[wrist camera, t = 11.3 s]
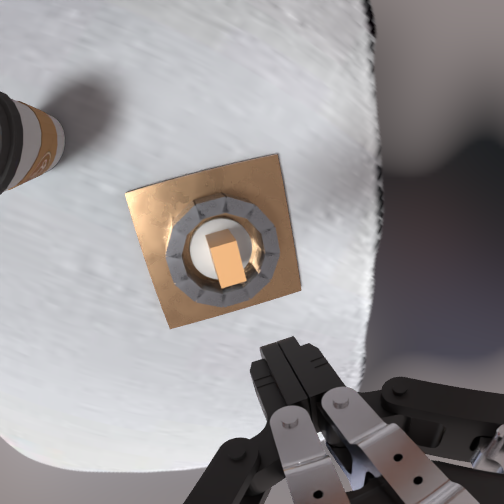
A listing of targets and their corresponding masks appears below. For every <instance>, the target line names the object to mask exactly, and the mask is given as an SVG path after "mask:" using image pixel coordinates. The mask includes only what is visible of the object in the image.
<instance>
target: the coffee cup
mask: <svg viewBox="0 0 504 504" xmlns="http://www.w3.org/2000/svg"><path fill="white" fill-rule="evenodd" d="M64 146H65V135H64V131H63V128H62V126H61V124H60V122H59V121H58V120H56V119H55V118H54V117H52V116H50V115H48V114H46V113H45V112H43V111H41V110H39V109H36V108H34V107H32V106H30V105H27V104H25V103H23V102H20V101H15V100H13V99H10V98H9V97H8V95H7V94H5V93H2V92H0V195H1V194H2V193H3V192H4V191H6V190H10V189H13V188H15V187H17V186H19V185H21V184H23V183H25V182H27V181H29V180H31V179H34V178H36V177H38V176H40V175H42V174H43V173H45V172H47V171H49V170H51V169H52V168H53V167H54V166H55V165H56V164H57V163H58V161H59V160H60V158H61V156H62V154H63V151H64Z"/></svg>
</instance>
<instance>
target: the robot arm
mask: <svg viewBox="0 0 504 504" xmlns="http://www.w3.org/2000/svg"><path fill="white" fill-rule="evenodd" d="M260 352H261V356H262V359H261V360H258V361H255V362H252V364H251V369H250V374H251V377H252V381H253V384H254V387H255V391H256V394H257V397H258V400H259V402H260V405H261V407H262V410H263V412H264V415H265V417H266V420H267V424H266V426H265V428H264V429H263V430H262V431H261V432H260V433H259V434H258V435H256V436H255V437H253V438H251V439H247V438H234V439H231V440H228V441H226V442H225V443H224V444H223V445H221V447H220V448H219V450H218V451H217V453H216V454H215V456H214V458H213V459H212V461H211V462H210V464H209V465H208V467H207V468H206V470H205V472H204V473H203V475H202V476H201V478H200V479H199V481H198V482H197V484H196V486H195V487H194V488H193V490H192V491H191V493H190V494H189V496H188V497H187V499H186V500H185V502H184V503H183V504H264V502H265V500H266V498H267V496H268V494H269V492H270V490H271V487H272V486H273V485H275V484H276V483H278V482H280V481H281V480H282V479H284V478H285V477H286V480H287V483H288V487H289V489H290V493H291V496H292V499H293V502H294V504H504V394H498V393H491V392H485V391H478V390H471V389H465V388H459V387H453V386H448V385H442V384H437V383H431V382H426V381H421V380H416V379H411V378H406V377H395V378H392V379H390V380H388V381H387V382H385V384H384V385H383V386H382V390H378V391H372V392H365V393H360V392H356V391H355V390H354V389H352V388H349V387H346V386H345V385H344V383H343V382H342V381H341V379H340V378H339V376H338V375H337V374H336V372H335V371H334V369H333V368H332V367H331V365H330V364H329V363H328V361H327V360H326V358H324V356H323V354H322V353H321V351H320V350H319V349H318V348H317V347H315V346H313V345H311V344H309V343H308V344H305V345H302V346H300V345H299V343H298V342H297V340H296V339H295V337H294V336H292V337H289V338H286V339H283V340H280V341H277V342H275V343H272V344H268V345H265V346H262V347H260ZM318 432H322V434H323V436H324V438H325V445H326V447H327V449H328V450H329V452H330V453H331V455H332V456H333V457H334V459H335V461H336V462H337V463H338V465H339V466H340V468H341V469H342V470H343V472H344V473H345V475H346V476H347V478H348V480H349V481H350V485H351V488H352V490H353V491H350V492H345V490H344V488H343V485H342V483H341V481H340V479H339V476H338V474H337V472H336V469H335V467H334V465H333V463H332V460H331V459H330V457H329V456H328V455H326V453H325V451H324V449H323V447H322V444H321V442H320V440H319V437H318V435H317V433H318ZM425 454H429V455H433V456H438V457H443V458H448V459H453V460H459V461H465V462H471V464H472V466H473V468H474V469H472V468H467V467H463V466H458V465H453V464H449V463H445V462H440V461H433V460H430V459H429V458H428V457H427V456H426V455H425Z"/></svg>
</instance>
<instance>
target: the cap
mask: <svg viewBox="0 0 504 504" xmlns="http://www.w3.org/2000/svg"><path fill="white" fill-rule="evenodd" d="M189 248H190V255H191V259H192V262H193V264H194V266H195V267H196V269H197V270H198V271H199V272H200V273H202V274H203V275H205V276H207V277H209V278H213V279H218V280H219V283H220V286H221V288H225V287H228V286H231V285H235V284H238V283H241V282H245V281H246V277H245V273H244V268H245V267H246V265H247V264H248V262H249V260H250V258H251V254H252V242H251V238H250V236H249V234H248V232H247V231H246V230H245V229H244V228H243V226H242V225H241V224H239V223H238V222H237V221H235V220H233V219H230V218H227V217H215V218H211V219H208V220H206V221H204V222H203V223H202V224H200V225H199V226H198V227H197V228H196V230H195V231H194V233H193V235H192V237H191V240H190V247H189Z"/></svg>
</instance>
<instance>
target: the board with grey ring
mask: <svg viewBox="0 0 504 504" xmlns="http://www.w3.org/2000/svg"><path fill="white" fill-rule="evenodd" d="M125 196H126V199H127V203H128V206H129V210H130V213H131V217H132V220H133V223H134V227H135V230H136V233H137V236H138V240H139V243H140V246H141V249H142V252H143V255H144V258H145V261H146V264H147V267H148V270H149V273H150V276H151V279H152V282H153V284H154V287H155V290H156V293H157V296H158V298H159V301H160V304H161V307H162V309H163V312H164V314H165V317H166V320H167V322H168V325H169V328H170V329H172V328H176V327H180V326H184V325H187V324H191V323H194V322H198V321H202V320H205V319H209V318H212V317H216V316H219V315H223V314H226V313H230V312H233V311H236V310H240V309H243V308H246V307H250V306H253V305H256V304H260V303H263V302H266V301H270V300H273V299H276V298H279V297H282V296H286V295H289V294H292V293H295V292H298V291H301V284H300V278H299V272H298V266H297V259H296V253H295V247H294V241H293V236H292V230H291V224H290V218H289V213H288V207H287V201H286V196H285V191H284V185H283V180H282V175H281V169H280V164H279V159H278V154H273V155H269V156H264V157H259V158H255V159H250V160H246V161H241V162H237V163H233V164H228V165H224V166H220V167H216V168H212V169H208V170H204V171H200V172H196V173H192V174H188V175H185V176H181V177H177V178H174V179H170V180H166V181H163V182H159V183H156V184H152V185H149V186H145V187H142V188H139V189H135V190H132V191H129V192H126V193H125ZM215 217H227V218H230V219H233V220H235V221H237V222H238V223H239V224H241V225H242V226H243V228H244V229H245V230H246V231H247V232H248V234H249V236H250V238H251V242H252V254H251V258H250V260H249V262H248V264H247V265H246V267H245V268H244V273H245V277H246V281H245V282H241V283H238V284H235V285H231V286H228V287H225V288H221V286H220V283H219V280H218V279H213V278H209V277H207V276H205V275H203V274H202V273H200V272H199V271H198V270H197V269H196V267H195V266H194V264H193V262H192V259H191V255H190V248H189V247H190V240H191V237H192V235H193V233H194V231H195V230H196V228H197V227H198V226H199V225H200V224H202V223H203V222H204V221H206V220H208V219H211V218H215Z"/></svg>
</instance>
